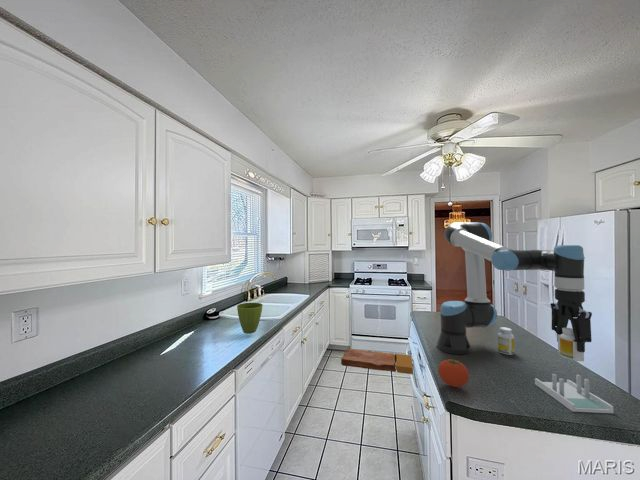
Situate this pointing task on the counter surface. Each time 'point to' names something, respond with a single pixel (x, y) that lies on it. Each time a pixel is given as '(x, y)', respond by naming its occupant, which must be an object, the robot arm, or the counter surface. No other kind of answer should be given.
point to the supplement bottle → (567, 343)
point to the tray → (574, 395)
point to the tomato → (453, 373)
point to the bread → (378, 361)
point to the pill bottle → (506, 341)
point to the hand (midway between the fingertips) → (570, 356)
